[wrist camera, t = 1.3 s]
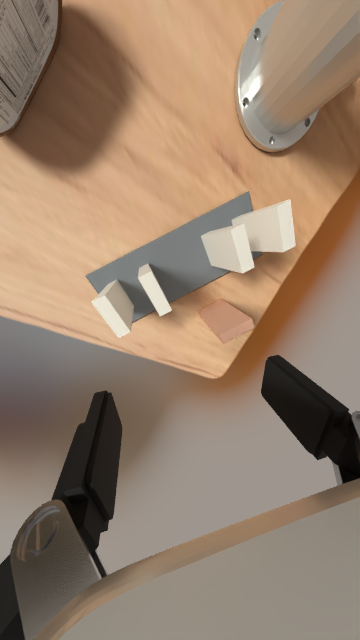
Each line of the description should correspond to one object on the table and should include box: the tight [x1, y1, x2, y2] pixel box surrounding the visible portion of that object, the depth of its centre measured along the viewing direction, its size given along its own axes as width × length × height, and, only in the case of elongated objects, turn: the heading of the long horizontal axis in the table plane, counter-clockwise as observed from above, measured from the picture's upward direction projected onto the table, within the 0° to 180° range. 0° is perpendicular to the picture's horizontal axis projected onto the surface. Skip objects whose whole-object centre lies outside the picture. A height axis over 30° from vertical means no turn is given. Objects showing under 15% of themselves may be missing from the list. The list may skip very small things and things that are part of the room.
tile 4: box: [201, 223, 254, 274], centre depth 23 cm, size 2×5×10 cm, turn 25°
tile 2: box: [138, 264, 172, 316], centre depth 23 cm, size 2×5×10 cm, turn 24°
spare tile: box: [198, 299, 255, 344], centre depth 28 cm, size 2×5×10 cm, turn 115°
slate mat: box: [86, 191, 262, 322], centre depth 28 cm, size 28×10×1 cm, turn 115°
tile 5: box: [231, 199, 296, 252], centre depth 23 cm, size 2×5×10 cm, turn 25°
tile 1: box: [91, 280, 134, 338], centre depth 23 cm, size 2×5×10 cm, turn 25°
